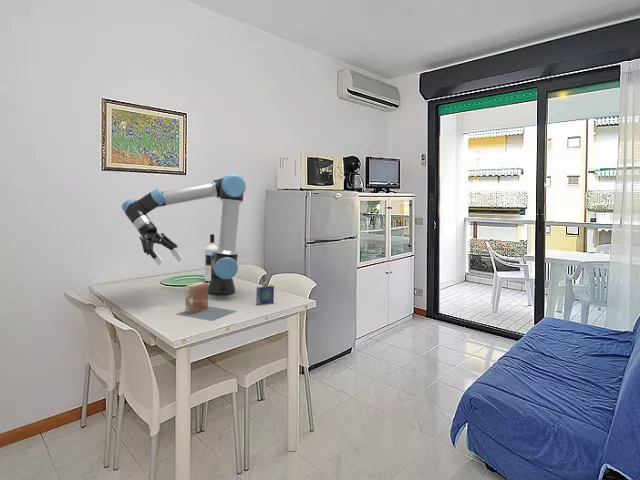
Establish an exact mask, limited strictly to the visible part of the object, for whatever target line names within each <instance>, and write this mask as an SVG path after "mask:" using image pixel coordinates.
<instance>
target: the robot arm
mask: <svg viewBox="0 0 640 480" xmlns="http://www.w3.org/2000/svg"><path fill="white" fill-rule="evenodd" d="M246 185H247V184H246V181H245V179H244V178H243V177H242V176H241V175H239V174H235V173H230V174H227V175H225V176H224V177H221V178H219V179H214V180H211V182H207V183H202V184H201V183H200V184H196V185H190V186H185V187H180V188H179V187H178V188H174V189H168V190H167V189H166V190H162V191H161V190H160V189H159V188H158V187H157V188H155V189H153V190H151V191H150V192H148V193H147V194H145V195H144V196H143V197H141V198H139V199H137V200H136V199H135V198H129V199H127V200H126V201H124V202H123V203H122V205H121V209H122V211H123V212H124V215H126V218H128V220H129V221H130V222H131V223H132V225H133V226H134V227H135V229H136V230H137V232H138V233H139V234H140V236H139V240H140V242H141V246H142V250H143V253H145V254H146V255H147V256H151V258H152V259H153V261H155V263H156V264H157V265H158V266H160V265H161V264H162V263H163V261H164V260H163V259H162V258H161V257H160V255H159V254H158V253H157V251H156V250H154V244H158V245H161V246H163V247H164V248H166V249H168V250H169V251H170V253H171V254H172V255H173V257H174V258H175V259H176V261H177V262H181V261H182V260H183V258H184V257H183V256H182V255H181V254H180V251H178V249H177V248H178V247H179V245H178V244H176V243H175V242H173V241H172V240H171V239H170V238H169V237H167V236H166V234H164V233H163V232H161V233H158V228H157V226H156V225H155V224H154V223H153V221H152V220H151V218H150V217H149V216H148V215H147V214H149V213H150V212H152V211H153V210H155V209H157V208H160V207H161V208H162V207H165V206H170V205H175V204H182V203H186V202H191V201H197V200H204V199H207V198H213V197H214V198H216V199H218V198H219V200H220V201H221V203H222V204H221V205H222V207H221V216H220V217H221V218H220V228H219V229H220V230H219V237H218V238H219V240H218V250H216V251H215V252H212V253H211V280H210V282H208V295H212V296H225V295H226V296H229V295H231V294H232V295H233V294H235V293H236V285H235V282H234V279H233V278H234V277H235V276H236V275H237V273H238V270H239V264H238V255H239V253H238V252H237V251H236V244H237V235H238V234H237V233H238V225H239V224H238V223H239V215H240V213H239V212H240V206H241V204H242V203H243V202H244V193H246V192H245V191H246V188H247V186H246Z"/></svg>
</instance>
